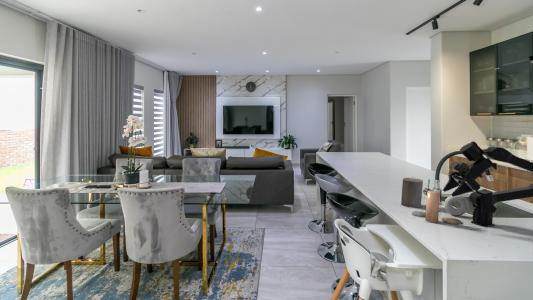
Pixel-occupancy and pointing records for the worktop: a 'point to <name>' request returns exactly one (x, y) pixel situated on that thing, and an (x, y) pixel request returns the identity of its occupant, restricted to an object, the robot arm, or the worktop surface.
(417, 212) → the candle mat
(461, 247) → the worktop surface
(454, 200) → the donut
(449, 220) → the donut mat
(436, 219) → the post
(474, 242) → the worktop surface
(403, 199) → the pillar candle
